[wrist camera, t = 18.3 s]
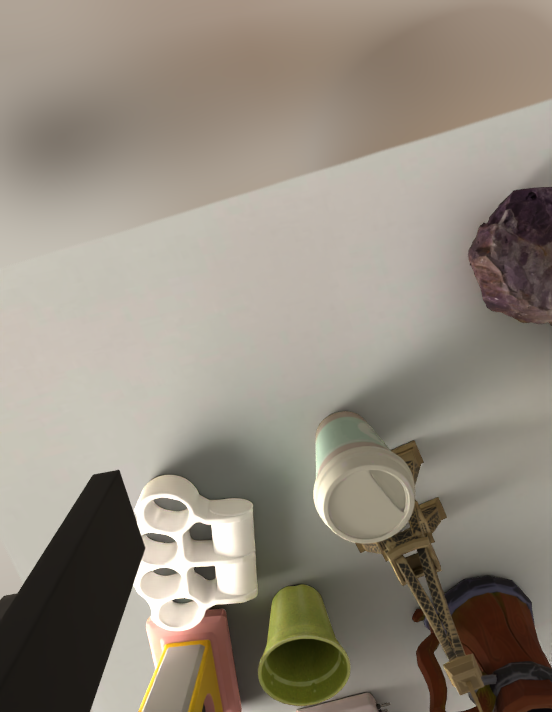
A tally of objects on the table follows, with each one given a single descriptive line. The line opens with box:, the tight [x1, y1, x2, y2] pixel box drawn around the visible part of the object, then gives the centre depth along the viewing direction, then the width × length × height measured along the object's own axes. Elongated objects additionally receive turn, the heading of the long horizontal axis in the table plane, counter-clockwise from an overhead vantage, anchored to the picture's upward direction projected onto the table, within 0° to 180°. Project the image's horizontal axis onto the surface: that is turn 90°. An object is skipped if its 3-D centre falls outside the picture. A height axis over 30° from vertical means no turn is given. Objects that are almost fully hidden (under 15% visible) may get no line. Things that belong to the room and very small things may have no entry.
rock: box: [468, 187, 552, 324], centre depth 39 cm, size 12×9×10 cm
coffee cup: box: [313, 411, 415, 544], centre depth 42 cm, size 8×9×12 cm
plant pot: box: [258, 584, 350, 706], centre depth 50 cm, size 9×9×9 cm
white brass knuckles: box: [133, 475, 258, 631], centre depth 50 cm, size 3×18×15 cm
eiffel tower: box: [355, 441, 484, 712], centre depth 39 cm, size 11×11×25 cm
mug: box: [412, 576, 552, 712], centre depth 49 cm, size 18×12×15 cm, turn 87°
